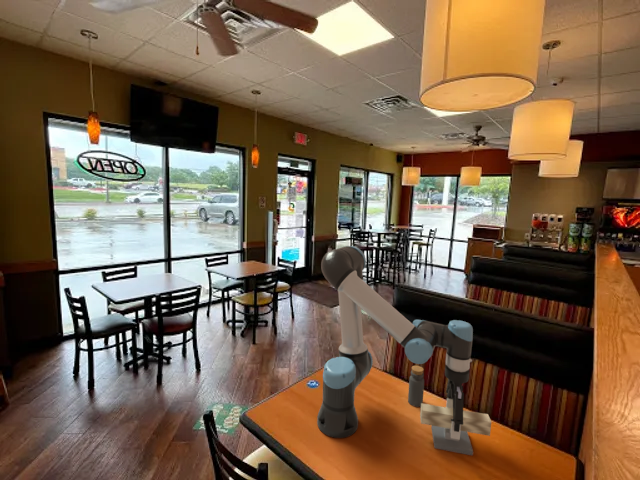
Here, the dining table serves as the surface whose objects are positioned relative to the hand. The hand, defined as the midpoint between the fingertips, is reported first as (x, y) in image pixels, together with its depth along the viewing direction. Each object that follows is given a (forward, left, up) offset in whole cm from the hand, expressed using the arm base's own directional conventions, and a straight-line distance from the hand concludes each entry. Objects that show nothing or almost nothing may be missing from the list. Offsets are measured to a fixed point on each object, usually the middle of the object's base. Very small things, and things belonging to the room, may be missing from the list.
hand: (452, 426), depth 110 cm
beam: (0, 0, +1) cm, 1 cm away
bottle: (-11, +19, -6) cm, 23 cm away
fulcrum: (0, 0, -5) cm, 5 cm away
